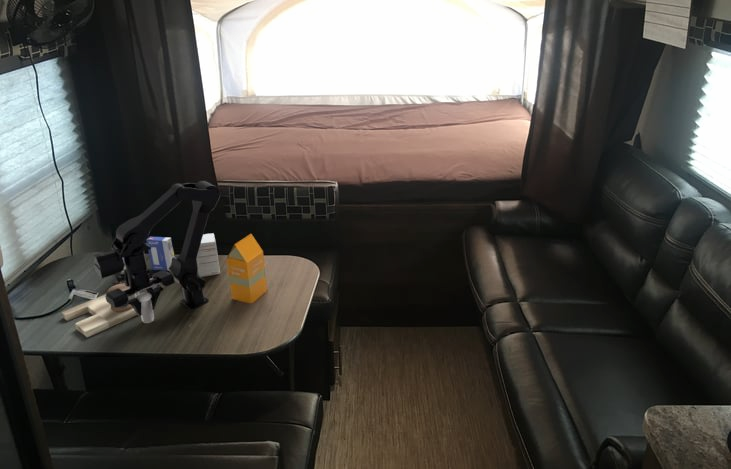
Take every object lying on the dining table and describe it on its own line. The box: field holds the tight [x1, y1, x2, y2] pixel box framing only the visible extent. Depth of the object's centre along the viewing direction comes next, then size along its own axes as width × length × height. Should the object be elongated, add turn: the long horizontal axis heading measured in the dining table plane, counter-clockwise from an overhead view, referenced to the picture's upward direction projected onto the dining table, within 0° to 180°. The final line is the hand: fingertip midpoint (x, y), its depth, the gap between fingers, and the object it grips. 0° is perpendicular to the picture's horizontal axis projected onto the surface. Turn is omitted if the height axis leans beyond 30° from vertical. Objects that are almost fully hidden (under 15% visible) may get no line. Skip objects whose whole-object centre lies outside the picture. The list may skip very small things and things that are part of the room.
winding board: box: [61, 293, 138, 338], centre depth 173 cm, size 16×20×2 cm
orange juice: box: [226, 233, 268, 304], centre depth 178 cm, size 8×9×20 cm
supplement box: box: [197, 232, 221, 278], centre depth 194 cm, size 7×7×13 cm
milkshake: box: [135, 291, 155, 324], centre depth 167 cm, size 4×5×10 cm
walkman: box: [145, 236, 176, 272], centre depth 197 cm, size 8×3×12 cm, turn 81°
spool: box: [106, 283, 133, 312], centre depth 172 cm, size 7×7×6 cm
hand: (146, 312), depth 168 cm, fingers closed on milkshake, 4 cm apart
